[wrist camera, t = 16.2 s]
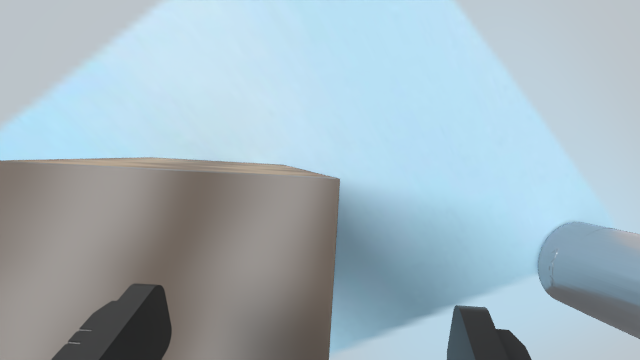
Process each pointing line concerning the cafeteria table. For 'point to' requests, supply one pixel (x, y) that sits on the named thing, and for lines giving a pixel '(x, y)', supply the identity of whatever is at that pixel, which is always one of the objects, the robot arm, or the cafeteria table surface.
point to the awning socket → (169, 253)
